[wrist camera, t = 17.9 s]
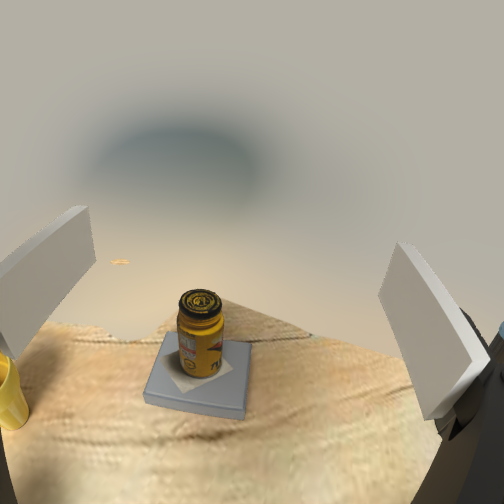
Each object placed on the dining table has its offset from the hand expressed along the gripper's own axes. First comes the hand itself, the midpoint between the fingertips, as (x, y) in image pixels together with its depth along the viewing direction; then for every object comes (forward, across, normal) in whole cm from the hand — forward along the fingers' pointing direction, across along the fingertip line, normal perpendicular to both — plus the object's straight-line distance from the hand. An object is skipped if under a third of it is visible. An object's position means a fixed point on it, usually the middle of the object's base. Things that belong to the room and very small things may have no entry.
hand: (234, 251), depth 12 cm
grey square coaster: (+17, -5, -32) cm, 37 cm away
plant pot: (+1, -32, -32) cm, 45 cm away
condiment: (+17, -6, -29) cm, 34 cm away
